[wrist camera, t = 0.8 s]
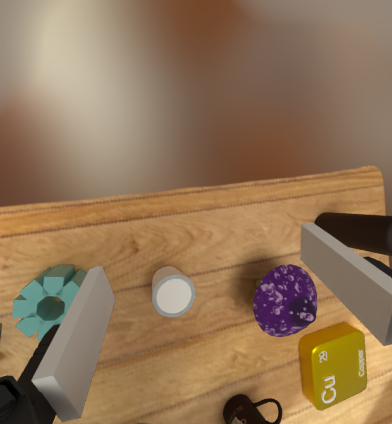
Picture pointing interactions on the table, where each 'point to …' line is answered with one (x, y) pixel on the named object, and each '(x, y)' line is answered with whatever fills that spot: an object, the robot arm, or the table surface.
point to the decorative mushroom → (285, 301)
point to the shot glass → (172, 292)
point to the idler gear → (47, 299)
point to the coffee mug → (247, 411)
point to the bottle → (359, 231)
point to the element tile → (332, 364)
